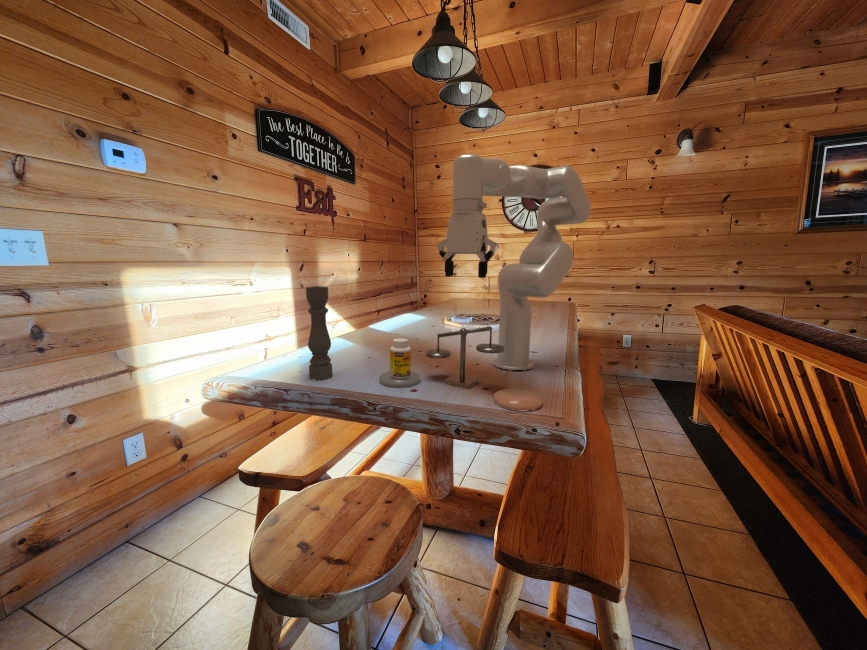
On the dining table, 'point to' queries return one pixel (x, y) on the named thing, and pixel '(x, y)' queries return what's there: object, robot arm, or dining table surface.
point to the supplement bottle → (400, 359)
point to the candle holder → (319, 333)
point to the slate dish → (399, 380)
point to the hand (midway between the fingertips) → (465, 276)
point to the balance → (464, 355)
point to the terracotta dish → (517, 399)
